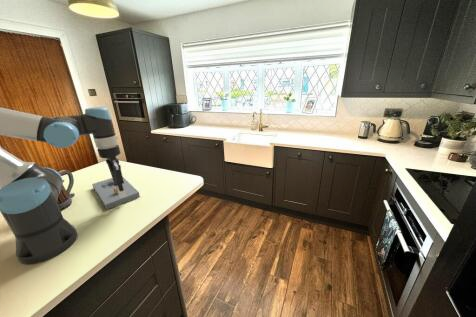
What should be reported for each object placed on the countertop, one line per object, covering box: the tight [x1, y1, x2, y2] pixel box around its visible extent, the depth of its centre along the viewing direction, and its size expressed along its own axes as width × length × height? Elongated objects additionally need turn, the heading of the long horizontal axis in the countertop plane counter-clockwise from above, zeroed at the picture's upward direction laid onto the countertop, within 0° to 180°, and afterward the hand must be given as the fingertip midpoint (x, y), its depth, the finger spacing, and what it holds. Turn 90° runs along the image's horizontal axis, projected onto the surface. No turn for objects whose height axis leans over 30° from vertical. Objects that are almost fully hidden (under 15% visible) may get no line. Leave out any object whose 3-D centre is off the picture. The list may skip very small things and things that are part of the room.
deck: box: [91, 176, 141, 211], centre depth 99 cm, size 28×14×2 cm, turn 45°
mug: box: [57, 169, 76, 212], centre depth 89 cm, size 16×11×15 cm
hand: (122, 196), depth 89 cm, fingers closed
